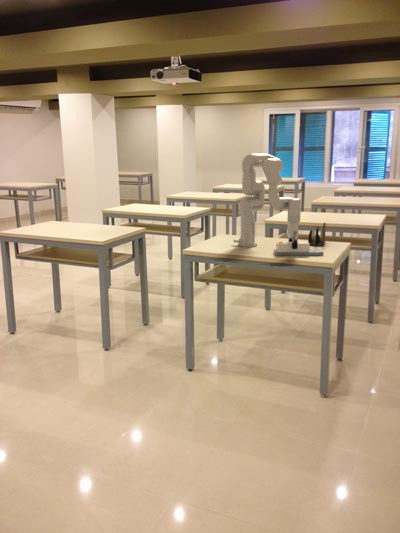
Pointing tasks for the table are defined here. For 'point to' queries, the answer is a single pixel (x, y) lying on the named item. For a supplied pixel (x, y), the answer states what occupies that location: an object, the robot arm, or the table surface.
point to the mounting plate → (300, 253)
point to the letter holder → (317, 238)
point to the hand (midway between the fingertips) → (292, 247)
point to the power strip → (288, 247)
